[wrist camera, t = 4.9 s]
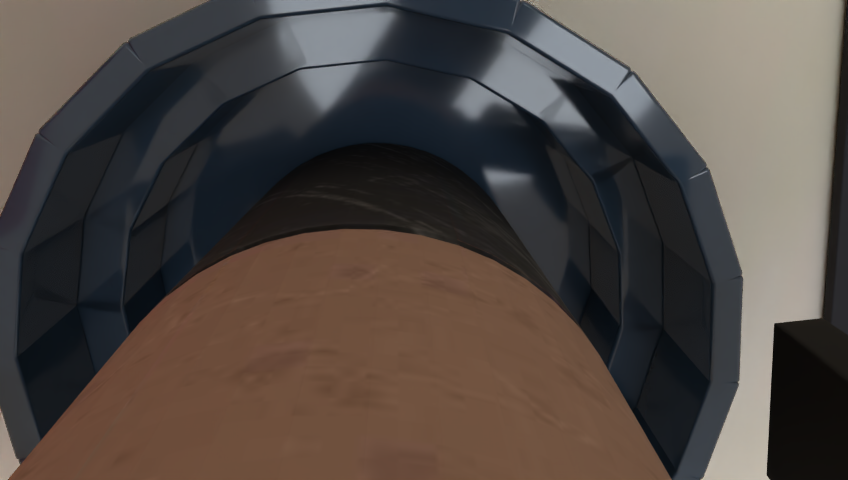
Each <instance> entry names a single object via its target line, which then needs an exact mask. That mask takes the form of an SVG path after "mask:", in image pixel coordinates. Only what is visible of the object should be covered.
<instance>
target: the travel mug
mask: <svg viewBox="0 0 848 480" xmlns="http://www.w3.org/2000/svg"><path fill="white" fill-rule="evenodd" d="M8 480H672V479H671V478H670V476H669V474H668V472H667V471H666V469H665V467H664V466H663V464H662V462H661V460H660V459H659V457H658V455H657V453H656V452H655V450H654V448H653V447H652V445H651V443H650V441H649V440H648V438H647V436H646V434H645V433H644V431H643V429H642V428H641V426H640V424H639V422H638V421H637V419H636V417H635V415H634V414H633V412H632V410H631V409H630V407H629V405H628V403H627V402H626V400H625V398H624V397H623V395H622V393H621V391H620V390H619V388H618V386H617V384H616V383H615V381H614V379H613V378H612V376H611V374H610V372H609V371H608V369H607V367H606V365H605V364H604V362H603V360H602V359H601V357H600V355H599V354H598V352H597V351H596V350H595V348H594V347H593V345H592V343H591V342H590V340H589V339H588V337H587V336H586V334H585V333H584V331H583V330H582V328H581V327H580V326H579V324H578V323H577V321H576V320H575V318H574V317H573V315H572V314H571V313H570V311H569V310H568V308H567V307H566V305H565V304H564V302H563V301H562V299H561V298H560V297H559V295H558V294H557V292H556V291H555V289H554V288H553V286H552V285H551V284H550V282H549V281H548V279H547V278H546V276H545V275H544V273H543V272H542V270H541V269H540V268H539V266H538V265H537V263H536V262H535V260H534V259H533V257H532V256H531V255H530V253H529V252H528V250H527V249H526V247H525V246H524V244H523V243H522V241H521V240H520V239H519V237H518V236H517V234H516V233H515V231H514V230H513V228H512V227H511V226H510V224H509V223H508V221H507V220H506V218H505V217H504V216H503V214H502V213H501V212H500V210H499V209H498V207H497V206H496V205H495V203H494V202H493V201H492V199H491V198H490V197H489V196H488V195H487V193H486V192H485V191H484V190H483V189H482V188H481V187H480V186H479V185H478V184H477V183H476V182H475V181H474V180H473V179H471V178H470V177H469V176H468V175H467V174H465V173H464V172H463V171H462V170H460V169H459V168H457V167H456V166H454V165H452V164H451V163H449V162H447V161H446V160H444V159H442V158H440V157H438V156H435V155H433V154H431V153H428V152H426V151H422V150H419V149H416V148H412V147H409V146H402V145H396V144H387V143H367V144H358V145H351V146H347V147H342V148H338V149H334V150H331V151H329V152H326V153H324V154H321V155H319V156H316V157H314V158H312V159H311V160H309V161H307V162H305V163H303V164H302V165H300V166H298V167H297V168H295V169H294V170H293V171H291V172H290V173H289V174H287V175H286V176H285V177H283V178H282V179H281V180H280V181H279V182H278V183H277V184H275V185H274V186H273V187H272V188H271V189H270V190H269V191H268V192H267V193H266V194H265V195H264V196H263V197H262V198H261V199H260V200H259V201H258V202H257V203H256V204H255V205H254V206H253V207H252V208H251V209H250V210H249V211H248V212H247V213H246V214H245V215H244V216H243V217H242V218H241V219H240V220H239V221H238V222H237V223H236V224H235V225H234V226H233V227H232V228H231V229H230V231H229V232H228V233H227V234H226V235H225V236H224V237H223V238H222V239H221V240H220V241H219V242H218V243H217V244H216V245H215V246H214V247H213V248H212V249H211V250H210V251H209V252H208V253H207V254H206V255H205V256H204V257H203V258H202V259H201V260H200V261H199V262H198V263H197V264H196V265H195V266H194V267H193V268H192V269H191V270H190V271H189V272H188V273H187V274H186V275H185V276H184V277H183V278H182V279H181V280H180V281H179V282H178V284H177V285H176V286H175V287H174V288H173V289H172V290H171V291H170V292H169V293H168V294H167V295H166V296H165V297H164V298H163V299H162V300H161V301H160V302H159V303H158V304H157V305H156V306H155V307H154V308H153V309H152V310H151V311H150V313H149V314H148V315H147V316H146V317H145V318H144V319H143V320H142V321H141V322H140V323H139V324H138V325H137V326H136V328H135V329H134V330H133V331H132V332H131V334H130V335H129V336H128V337H127V338H126V340H125V341H124V342H123V343H122V344H121V346H120V347H119V348H118V349H117V350H116V351H115V353H114V354H113V355H112V356H111V357H110V359H109V360H108V361H107V362H106V363H105V365H104V366H103V367H102V368H101V369H100V371H99V372H98V373H97V374H96V375H95V377H94V378H93V379H92V380H91V381H90V382H89V384H88V385H87V386H86V387H85V388H84V390H83V391H82V392H81V393H80V394H79V396H78V397H77V398H76V399H75V400H74V402H73V403H72V404H71V405H70V406H69V408H68V409H67V410H66V411H65V412H64V413H63V415H62V416H61V417H60V418H59V419H58V421H57V422H56V423H55V424H54V425H53V427H52V428H51V429H50V430H49V431H48V433H47V434H46V435H45V436H44V437H43V439H42V440H41V441H40V442H39V443H38V444H37V446H36V447H35V448H34V449H33V450H32V452H31V453H30V454H29V455H28V456H27V458H26V459H25V460H24V461H23V462H22V464H21V465H20V466H19V467H18V468H17V470H16V471H15V472H14V473H13V474H12V476H11V477H10V478H9V479H8Z"/></svg>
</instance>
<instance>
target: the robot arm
mask: <svg viewBox="0 0 848 480" xmlns="http://www.w3.org/2000/svg"><path fill="white" fill-rule="evenodd" d="M767 476H768V477H769V479H770V480H848V335H847V334H846V333H844V332H843V331H841V330H840V329H838V328H837V327H835V326H834V325H832V324H831V323H830V322H828V321H827V320H825V319H824V318H821V319H812V320H803V321H793V322H784V323H775V324H774V341H773V361H772V381H771V400H770V420H769V440H768V460H767Z"/></svg>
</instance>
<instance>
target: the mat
mask: <svg viewBox="0 0 848 480" xmlns="http://www.w3.org/2000/svg"><path fill="white" fill-rule="evenodd" d="M823 318H824V319H825V320H827V321H828V322H830V323H831V324H832V325H834V326H835V327H837V328H838V329H840V330H841V331H843V332H844V333H846V334H847V335H848V0H847V6H846V20H845V33H844V47H843V60H842V74H841V87H840V101H839V114H838V128H837V141H836V155H835V168H834V182H833V196H832V209H831V223H830V236H829V250H828V263H827V277H826V290H825V304H824V317H823Z"/></svg>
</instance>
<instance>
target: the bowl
mask: <svg viewBox="0 0 848 480" xmlns="http://www.w3.org/2000/svg"><path fill="white" fill-rule="evenodd" d="M367 143H387V144H396V145H402V146H409V147H412V148H416V149H419V150H422V151H426V152H428V153H431V154H433V155H435V156H438V157H440V158H442V159H444V160H446V161H447V162H449V163H451V164H452V165H454V166H456V167H457V168H459V169H460V170H462V171H463V172H464V173H465V174H467V175H468V176H469V177H470V178H471V179H473V180H474V181H475V182H476V183H477V184H478V185H479V186H480V187H481V188H482V189H483V190H484V191H485V192H486V193H487V195H488V196H489V197H490V198H491V199H492V201H493V202H494V203H495V205H496V206H497V207H498V209H499V210H500V212H501V213H502V214H503V216H504V217H505V218H506V220H507V221H508V223H509V224H510V226H511V227H512V228H513V230H514V231H515V233H516V234H517V236H518V237H519V239H520V240H521V241H522V243H523V244H524V246H525V247H526V249H527V250H528V252H529V253H530V255H531V256H532V257H533V259H534V260H535V262H536V263H537V265H538V266H539V268H540V269H541V270H542V272H543V273H544V275H545V276H546V278H547V279H548V281H549V282H550V284H551V285H552V286H553V288H554V289H555V291H556V292H557V294H558V295H559V297H560V298H561V299H562V301H563V302H564V304H565V305H566V307H567V308H568V310H569V311H570V313H571V314H572V315H573V317H574V318H575V320H576V321H577V323H578V324H579V326H580V327H581V328H582V330H583V331H584V333H585V334H586V336H587V337H588V339H589V340H590V342H591V343H592V345H593V347H594V348H595V350H596V351H597V352H598V354H599V355H600V357H601V359H602V360H603V362H604V364H605V365H606V367H607V369H608V371H609V372H610V374H611V376H612V378H613V379H614V381H615V383H616V384H617V386H618V388H619V390H620V391H621V393H622V395H623V397H624V398H625V400H626V402H627V403H628V405H629V407H630V409H631V410H632V412H633V414H634V415H635V417H636V419H637V421H638V422H639V424H640V426H641V428H642V429H643V431H644V433H645V434H646V436H647V438H648V440H649V441H650V443H651V445H652V447H653V448H654V450H655V452H656V453H657V455H658V457H659V459H660V460H661V462H662V464H663V466H664V467H665V469H666V471H667V472H668V474H669V476H670V478H671V479H672V480H701V479H702V478H703V477H704V474H705V472H706V469H707V466H708V464H709V461H710V459H711V456H712V453H713V451H714V448H715V446H716V443H717V440H718V438H719V435H720V433H721V430H722V427H723V425H724V422H725V420H726V417H727V414H728V412H729V409H730V407H731V404H732V401H733V399H734V396H735V394H736V391H737V388H738V386H739V384H738V382H739V374H740V346H741V319H742V291H743V278H742V270H741V267H740V264H739V261H738V258H737V254H736V251H735V248H734V245H733V242H732V239H731V236H730V233H729V229H728V226H727V223H726V220H725V217H724V214H723V211H722V208H721V204H720V201H719V198H718V195H717V192H716V189H715V186H714V183H713V180H712V176H711V173H710V170H709V169H708V168H707V167H706V162H705V161H704V160H703V159H702V157H701V156H700V155H699V153H698V152H697V151H696V150H695V148H694V147H693V146H692V144H691V143H690V142H689V141H688V139H687V138H686V137H685V135H684V134H683V133H682V132H681V130H680V129H679V128H678V126H677V125H676V124H675V123H674V121H673V120H672V119H671V117H670V116H669V115H668V114H667V112H666V111H665V110H664V108H663V107H662V106H661V104H660V103H659V102H658V101H657V99H656V98H655V97H654V95H653V94H652V93H651V92H650V90H649V89H648V88H647V86H646V85H645V84H644V83H643V81H642V80H641V79H640V77H639V76H638V75H637V74H636V72H634V71H631V68H630V67H629V66H628V65H626V64H624V63H623V62H621V61H620V60H618V59H617V58H615V57H613V56H612V55H610V54H609V53H607V52H606V51H604V50H602V49H601V48H599V47H598V46H596V45H595V44H593V43H591V42H590V41H588V40H587V39H585V38H584V37H582V36H580V35H579V34H577V33H576V32H574V31H573V30H571V29H569V28H568V27H566V26H565V25H563V24H562V23H560V22H558V21H557V20H555V19H554V18H552V17H551V16H549V15H547V14H546V13H544V12H543V11H541V10H540V9H538V8H536V7H535V6H533V5H532V4H530V3H529V2H527V1H524V0H521V1H520V0H209V1H207V2H204V3H202V4H200V5H198V6H196V7H194V8H192V9H190V10H188V11H186V12H184V13H181V14H179V15H177V16H175V17H173V18H171V19H169V20H167V21H165V22H163V23H161V24H158V25H156V26H154V27H152V28H150V29H148V30H146V31H144V32H142V33H140V34H137V35H135V36H133V37H131V38H130V39H129V40H128V42H125V43H123V44H122V45H121V46H120V47H119V48H118V49H117V50H116V51H115V52H114V53H113V54H112V55H111V56H110V57H109V58H108V59H107V60H106V61H105V62H104V63H103V64H102V65H101V66H100V67H99V68H98V69H97V71H96V72H95V73H94V74H93V75H92V76H91V77H90V78H89V79H88V80H87V81H86V82H85V83H84V84H83V85H82V86H81V87H80V88H79V89H78V90H77V91H76V92H75V93H74V94H73V95H72V96H71V97H70V98H69V99H68V100H67V101H66V102H65V103H64V104H63V105H62V107H61V108H60V109H59V110H58V111H57V112H56V113H55V114H54V115H53V116H52V117H51V118H50V119H49V120H48V121H47V122H46V123H45V124H44V125H43V126H42V127H41V128H40V130H39V133H37V134H36V135H35V137H34V139H33V142H32V144H31V146H30V149H29V151H28V153H27V155H26V158H25V160H24V162H23V165H22V167H21V169H20V172H19V174H18V176H17V179H16V181H15V183H14V186H13V188H12V190H11V193H10V195H9V197H8V200H7V202H6V204H5V207H4V209H3V211H2V214H1V216H0V408H1V411H2V415H3V418H4V421H5V424H6V427H7V431H8V434H9V437H10V440H11V443H12V446H13V450H14V453H15V456H16V458H17V459H19V463H20V465H21V464H22V462H23V461H24V460H25V459H26V458H27V456H28V455H29V454H30V453H31V452H32V450H33V449H34V448H35V447H36V446H37V444H38V443H39V442H40V441H41V440H42V439H43V437H44V436H45V435H46V434H47V433H48V431H49V430H50V429H51V428H52V427H53V425H54V424H55V423H56V422H57V421H58V419H59V418H60V417H61V416H62V415H63V413H64V412H65V411H66V410H67V409H68V408H69V406H70V405H71V404H72V403H73V402H74V400H75V399H76V398H77V397H78V396H79V394H80V393H81V392H82V391H83V390H84V388H85V387H86V386H87V385H88V384H89V382H90V381H91V380H92V379H93V378H94V377H95V375H96V374H97V373H98V372H99V371H100V369H101V368H102V367H103V366H104V365H105V363H106V362H107V361H108V360H109V359H110V357H111V356H112V355H113V354H114V353H115V351H116V350H117V349H118V348H119V347H120V346H121V344H122V343H123V342H124V341H125V340H126V338H127V337H128V336H129V335H130V334H131V332H132V331H133V330H134V329H135V328H136V326H137V325H138V324H139V323H140V322H141V321H142V320H143V319H144V318H145V317H146V316H147V315H148V314H149V313H150V311H151V310H152V309H153V308H154V307H155V306H156V305H157V304H158V303H159V302H160V301H161V300H162V299H163V298H164V297H165V296H166V295H167V294H168V293H169V292H170V291H171V290H172V289H173V288H174V287H175V286H176V285H177V284H178V282H179V281H180V280H181V279H182V278H183V277H184V276H185V275H186V274H187V273H188V272H189V271H190V270H191V269H192V268H193V267H194V266H195V265H196V264H197V263H198V262H199V261H200V260H201V259H202V258H203V257H204V256H205V255H206V254H207V253H208V252H209V251H210V250H211V249H212V248H213V247H214V246H215V245H216V244H217V243H218V242H219V241H220V240H221V239H222V238H223V237H224V236H225V235H226V234H227V233H228V232H229V231H230V229H231V228H232V227H233V226H234V225H235V224H236V223H237V222H238V221H239V220H240V219H241V218H242V217H243V216H244V215H245V214H246V213H247V212H248V211H249V210H250V209H251V208H252V207H253V206H254V205H255V204H256V203H257V202H258V201H259V200H260V199H261V198H262V197H263V196H264V195H265V194H266V193H267V192H268V191H269V190H270V189H271V188H272V187H273V186H274V185H275V184H277V183H278V182H279V181H280V180H281V179H282V178H283V177H285V176H286V175H287V174H289V173H290V172H291V171H293V170H294V169H295V168H297V167H298V166H300V165H302V164H303V163H305V162H307V161H309V160H311V159H312V158H314V157H316V156H319V155H321V154H324V153H326V152H329V151H331V150H334V149H338V148H342V147H347V146H351V145H358V144H367Z"/></svg>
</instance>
